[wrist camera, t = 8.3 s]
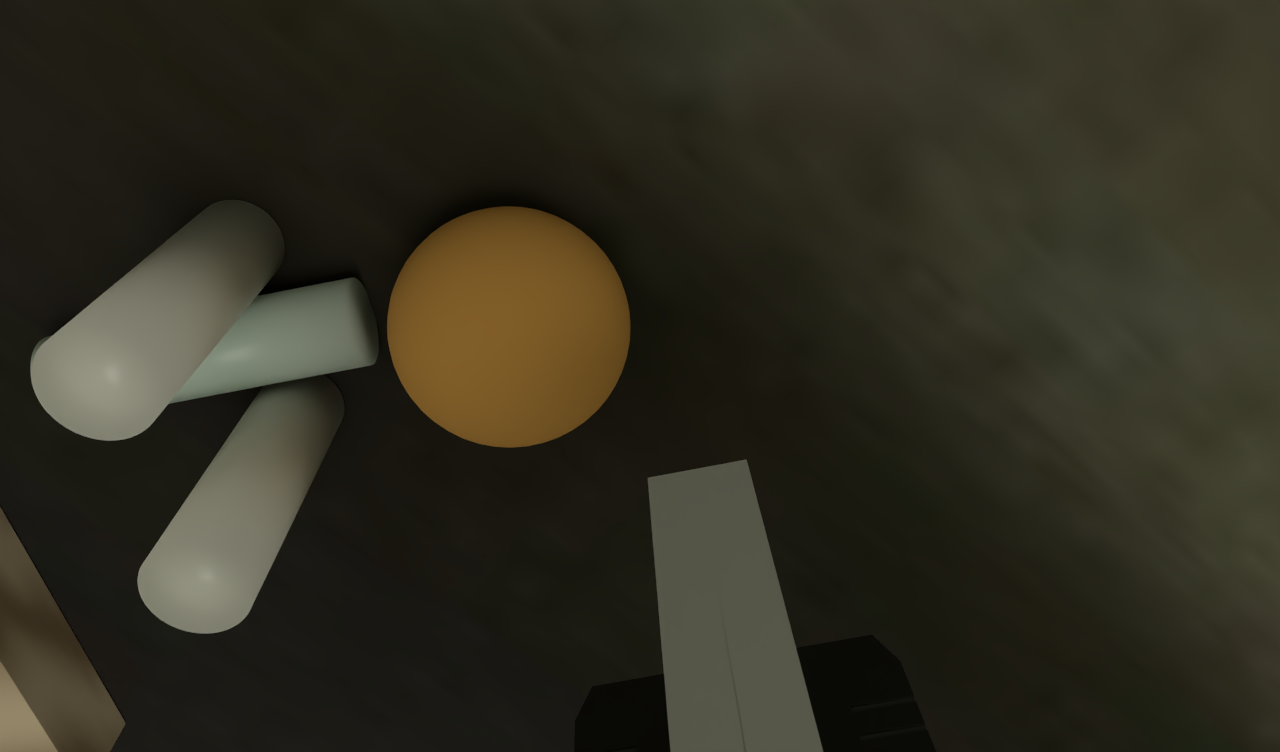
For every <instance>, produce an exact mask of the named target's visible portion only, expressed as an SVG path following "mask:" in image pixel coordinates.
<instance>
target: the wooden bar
mask: <svg viewBox="0 0 1280 752" xmlns="http://www.w3.org/2000/svg"><path fill="white" fill-rule="evenodd" d="M125 724H126V723H125V721H124V719H123V718H122V716H121V714H120V712H119V711H118V709H117V707H116V705H115V704H114V702H113V700H112V699H111V697H110V695H109V693H108V692H107V690H106V688H105V687H104V685H103V683H102V681H101V680H100V678H99V676H98V674H97V673H96V671H95V669H94V668H93V666H92V664H91V662H90V661H89V659H88V657H87V656H86V654H85V652H84V650H83V649H82V647H81V645H80V643H79V642H78V640H77V638H76V637H75V635H74V633H73V631H72V630H71V628H70V626H69V624H68V623H67V621H66V619H65V618H64V616H63V614H62V612H61V611H60V609H59V607H58V606H57V604H56V602H55V600H54V599H53V597H52V595H51V593H50V592H49V590H48V588H47V587H46V585H45V583H44V581H43V580H42V578H41V576H40V575H39V573H38V571H37V569H36V568H35V566H34V564H33V562H32V561H31V559H30V557H29V556H28V554H27V552H26V550H25V549H24V547H23V545H22V543H21V542H20V540H19V538H18V537H17V535H16V533H15V531H14V530H13V528H12V526H11V525H10V523H9V521H8V519H7V518H6V516H5V514H4V512H3V511H2V509H1V507H0V752H110V750H111V749H112V747H113V745H114V743H115V742H116V740H117V738H118V736H119V734H120V733H121V731H122V729H123V727H124V726H125Z"/></svg>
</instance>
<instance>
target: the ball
mask: <svg viewBox="0 0 1280 752" xmlns="http://www.w3.org/2000/svg"><path fill="white" fill-rule="evenodd" d="M387 335H388V344H389V349H390V353H391V357H392V361H393V365H394V367H395V370H396V372H397V374H398V377H399V379H400V381H401V383H402V385H403V386H404V388H405V390H406V391H407V393H408V394H409V396H410V397H411V399H412V400H413V401H414V402H415V403H416V404H417V406H418V407H419V408H420V409H421V410H422V411H423V412H424V413H425V414H426V415H427V416H428V417H429V418H430V419H432V420H433V421H434V422H435V423H437V424H438V425H440V426H441V427H443V428H444V429H446V430H447V431H449V432H451V433H453V434H455V435H457V436H459V437H461V438H463V439H466V440H469V441H472V442H475V443H478V444H483V445H488V446H493V447H509V448H511V447H524V446H531V445H535V444H540V443H544V442H547V441H550V440H553V439H556V438H558V437H560V436H562V435H564V434H566V433H568V432H570V431H572V430H574V429H575V428H576V427H578V426H579V425H581V424H582V423H584V422H585V421H586V420H587V419H588V418H590V417H591V416H592V415H593V414H594V413H595V412H596V411H597V410H598V409H599V408H600V407H601V405H602V404H603V403H604V402H605V401H606V400H607V398H608V397H609V395H610V393H611V392H612V390H613V389H614V387H615V386H616V383H617V381H618V379H619V377H620V375H621V373H622V370H623V367H624V364H625V361H626V358H627V354H628V348H629V343H630V313H629V307H628V302H627V298H626V294H625V291H624V288H623V285H622V282H621V280H620V278H619V276H618V274H617V272H616V270H615V268H614V266H613V265H612V263H611V262H610V260H609V259H608V257H607V256H606V254H605V253H604V252H603V251H602V250H601V249H600V247H599V246H598V245H597V244H596V243H595V242H594V241H593V240H592V239H591V238H590V237H588V236H587V235H586V234H585V233H584V232H582V231H581V230H580V229H578V228H577V227H575V226H574V225H572V224H571V223H569V222H567V221H565V220H563V219H561V218H559V217H557V216H555V215H552V214H549V213H546V212H543V211H540V210H536V209H531V208H525V207H512V206H503V207H491V208H486V209H482V210H477V211H473V212H470V213H467V214H465V215H462V216H459V217H457V218H455V219H453V220H451V221H449V222H447V223H446V224H444V225H442V226H441V227H440V228H438V229H437V230H435V231H434V232H433V233H431V234H430V235H429V236H428V237H427V238H426V239H425V240H424V241H423V242H422V243H421V244H420V245H419V246H418V247H417V248H416V249H415V250H414V252H413V253H412V254H411V256H410V257H409V258H408V260H407V261H406V263H405V265H404V266H403V268H402V270H401V272H400V273H399V275H398V278H397V280H396V283H395V286H394V288H393V291H392V294H391V298H390V304H389V310H388V318H387Z"/></svg>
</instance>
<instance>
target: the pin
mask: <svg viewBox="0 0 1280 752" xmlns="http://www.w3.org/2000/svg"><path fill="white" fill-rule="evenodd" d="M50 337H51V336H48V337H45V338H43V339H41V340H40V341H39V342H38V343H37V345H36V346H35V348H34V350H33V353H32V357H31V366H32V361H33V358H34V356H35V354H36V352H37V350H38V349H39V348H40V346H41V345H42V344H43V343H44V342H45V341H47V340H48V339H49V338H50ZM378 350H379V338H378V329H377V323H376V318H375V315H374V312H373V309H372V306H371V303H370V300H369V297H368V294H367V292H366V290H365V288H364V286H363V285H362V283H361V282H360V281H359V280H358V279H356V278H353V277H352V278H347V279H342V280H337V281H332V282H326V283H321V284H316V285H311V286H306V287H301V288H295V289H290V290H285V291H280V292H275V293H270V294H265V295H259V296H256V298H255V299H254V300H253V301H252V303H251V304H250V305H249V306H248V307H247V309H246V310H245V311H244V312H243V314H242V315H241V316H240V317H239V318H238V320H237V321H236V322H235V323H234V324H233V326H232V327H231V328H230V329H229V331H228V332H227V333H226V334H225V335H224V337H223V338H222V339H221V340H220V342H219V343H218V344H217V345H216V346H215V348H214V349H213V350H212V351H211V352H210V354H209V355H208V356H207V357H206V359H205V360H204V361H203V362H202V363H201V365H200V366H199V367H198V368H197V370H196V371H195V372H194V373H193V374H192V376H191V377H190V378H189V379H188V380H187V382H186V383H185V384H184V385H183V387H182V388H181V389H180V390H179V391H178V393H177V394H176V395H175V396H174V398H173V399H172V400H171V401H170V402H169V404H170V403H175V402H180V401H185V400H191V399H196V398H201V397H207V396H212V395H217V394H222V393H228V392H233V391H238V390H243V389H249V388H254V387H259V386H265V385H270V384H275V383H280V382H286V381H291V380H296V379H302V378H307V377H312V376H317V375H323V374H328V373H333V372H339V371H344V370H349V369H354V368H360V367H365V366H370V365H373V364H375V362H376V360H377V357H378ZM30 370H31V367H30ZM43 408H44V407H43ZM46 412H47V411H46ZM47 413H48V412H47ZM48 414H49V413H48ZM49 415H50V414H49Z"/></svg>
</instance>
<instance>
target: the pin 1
mask: <svg viewBox="0 0 1280 752" xmlns="http://www.w3.org/2000/svg"><path fill="white" fill-rule="evenodd" d="M284 255H285V243H284V238H283V235H282V232H281V230H280V228H279V227H278V225H277V223H276V222H275V221H274V219H273V218H272V217H271V216H270V215H269V214H268V213H266V212H265V211H264V210H263V209H261V208H259V207H258V206H256V205H254V204H252V203H249V202H246V201H242V200H222V201H218V202H216V203H213V204H211V205H210V206H208V207H207V208H205V209H204V210H203V211H202V212H201V213H199V214H198V215H197V216H196V217H195V218H193V219H192V220H191V221H190V222H189V223H187V224H186V225H185V226H184V227H183V228H181V229H180V230H179V231H178V232H176V233H175V234H174V235H173V236H172V237H170V238H169V239H168V240H167V241H166V242H164V243H163V244H162V245H161V246H160V247H158V248H157V249H156V250H155V251H154V252H152V253H151V254H150V255H149V256H148V257H146V258H145V259H144V260H143V261H142V262H140V263H139V264H138V265H137V266H136V267H134V268H133V269H132V270H131V271H130V272H128V273H127V274H126V275H125V276H124V277H122V278H121V279H120V280H119V281H118V282H116V283H115V284H114V285H113V286H112V287H110V288H109V289H108V290H107V291H106V292H104V293H103V294H102V295H101V296H99V297H98V298H97V299H96V300H95V301H93V302H92V303H91V304H90V305H89V306H87V307H86V308H85V309H84V310H83V311H81V312H80V313H79V314H78V315H77V316H75V317H74V318H73V319H72V320H71V321H69V322H68V323H67V324H66V325H65V326H63V327H62V328H61V329H60V330H59V331H57V332H56V333H55V334H54V335H53V336H51V337H50V338H49V339H48V340H47V341H45V342H44V343H43V344H42V345H41V346H40V348H39V349H38V350H37V352H36V354H35V356H34V358H33V361H32V366H31V380H32V385H33V389H34V392H35V394H36V396H37V398H38V400H39V402H40V403H41V405H42V406H43V407H44V409H45V410H46V411H47V412H48V413H49V414H50V415H51V416H52V417H53V418H54V419H55V420H56V421H57V422H59V423H60V424H61V425H63V426H64V427H66V428H67V429H69V430H71V431H73V432H75V433H77V434H80V435H82V436H85V437H89V438H93V439H98V440H107V441H110V440H122V439H127V438H131V437H133V436H136V435H138V434H140V433H141V432H143V431H144V430H146V429H147V428H148V427H149V426H150V425H151V424H152V423H153V422H154V421H155V419H156V418H157V417H158V416H159V415H160V413H161V412H162V411H163V410H164V408H165V407H166V406H167V405H168V404H169V402H170V401H171V400H172V399H173V398H174V396H175V395H176V394H177V393H178V391H179V390H180V389H181V388H182V387H183V385H184V384H185V383H186V382H187V380H188V379H189V378H190V377H191V376H192V374H193V373H194V372H195V371H196V370H197V368H198V367H199V366H200V365H201V363H202V362H203V361H204V360H205V359H206V357H207V356H208V355H209V354H210V352H211V351H212V350H213V349H214V348H215V346H216V345H217V344H218V343H219V342H220V340H221V339H222V338H223V337H224V335H225V334H226V333H227V332H228V331H229V329H230V328H231V327H232V326H233V324H234V323H235V322H236V321H237V320H238V318H239V317H240V316H241V315H242V314H243V312H244V311H245V310H246V309H247V307H248V306H249V305H250V304H251V303H252V301H253V300H254V299H255V298H256V296H257V295H258V294H259V293H260V292H261V290H262V289H263V288H264V287H265V285H266V284H267V283H268V282H269V281H270V279H271V278H272V277H273V276H274V275H275V273H276V272H277V271H278V270H279V268H280V266H281V264H282V262H283V259H284Z"/></svg>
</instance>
